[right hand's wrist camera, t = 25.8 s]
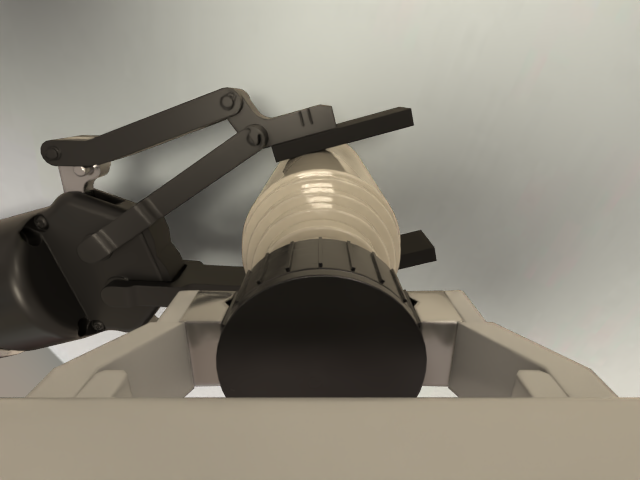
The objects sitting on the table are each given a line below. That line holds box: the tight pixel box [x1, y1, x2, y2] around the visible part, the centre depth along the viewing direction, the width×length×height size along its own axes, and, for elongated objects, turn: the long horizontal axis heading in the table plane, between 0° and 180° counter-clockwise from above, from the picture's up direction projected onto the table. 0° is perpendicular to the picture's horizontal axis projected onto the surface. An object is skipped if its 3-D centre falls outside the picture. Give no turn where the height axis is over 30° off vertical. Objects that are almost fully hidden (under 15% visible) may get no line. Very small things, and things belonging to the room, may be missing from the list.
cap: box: [216, 237, 427, 397], centre depth 9 cm, size 5×5×2 cm
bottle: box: [242, 144, 401, 274], centre depth 17 cm, size 6×6×18 cm
